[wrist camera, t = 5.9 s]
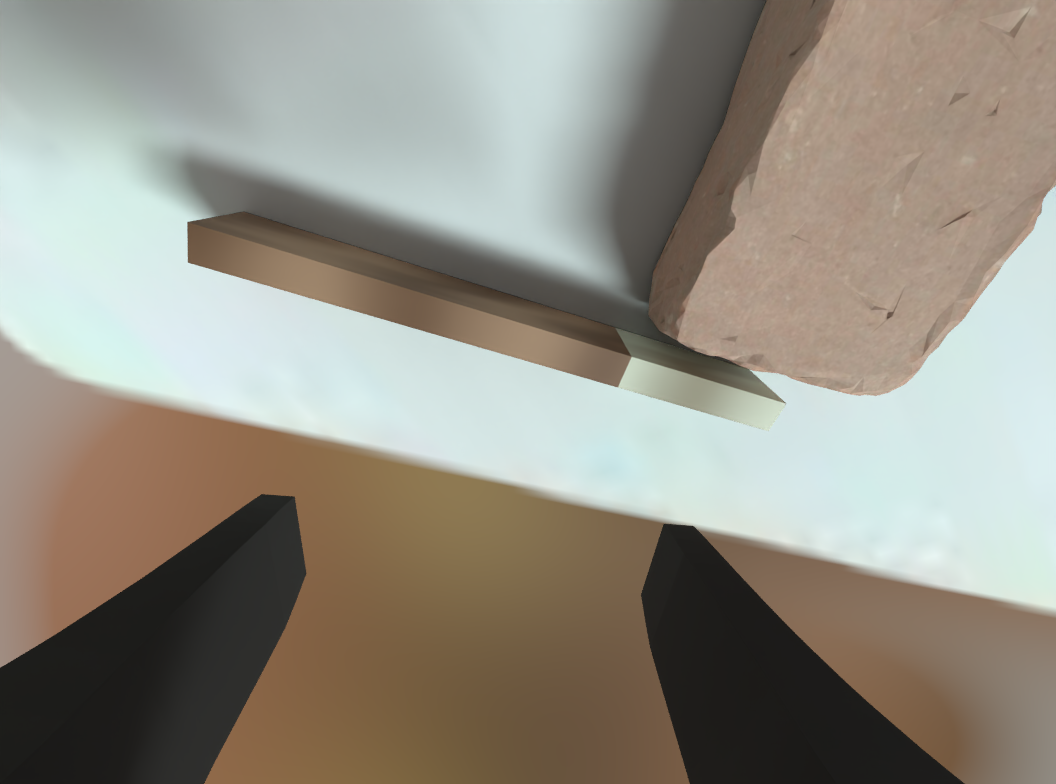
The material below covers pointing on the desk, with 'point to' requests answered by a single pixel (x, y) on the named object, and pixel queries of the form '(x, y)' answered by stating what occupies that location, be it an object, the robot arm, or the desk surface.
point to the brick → (863, 186)
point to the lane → (476, 316)
